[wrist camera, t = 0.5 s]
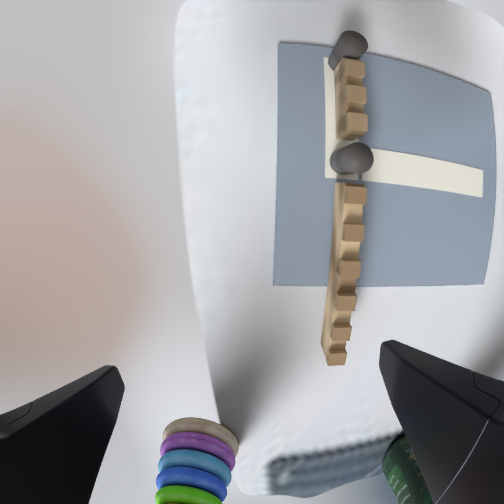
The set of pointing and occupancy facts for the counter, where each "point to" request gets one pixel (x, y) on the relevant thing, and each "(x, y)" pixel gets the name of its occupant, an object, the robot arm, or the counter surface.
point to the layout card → (385, 173)
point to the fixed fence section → (350, 104)
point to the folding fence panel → (343, 269)
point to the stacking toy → (195, 462)
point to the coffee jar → (405, 474)
